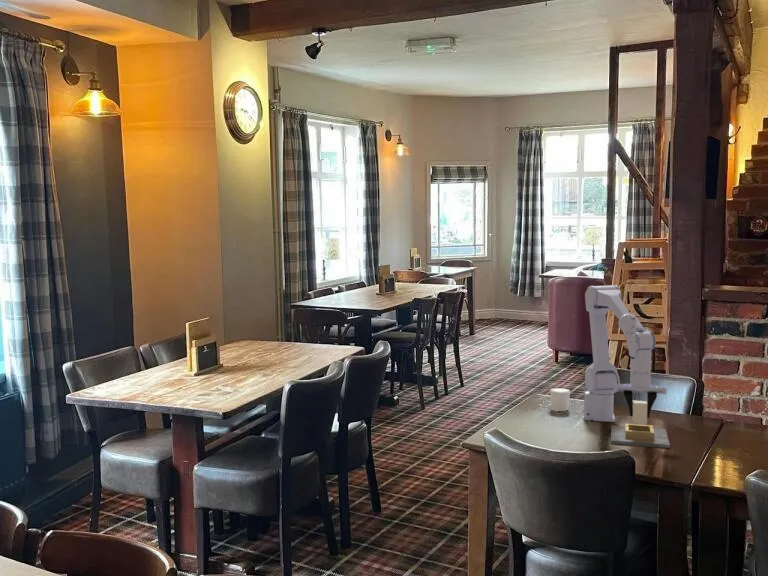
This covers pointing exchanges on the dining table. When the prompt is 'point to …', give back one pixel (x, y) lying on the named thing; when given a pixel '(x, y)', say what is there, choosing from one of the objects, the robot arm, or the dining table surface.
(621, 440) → the socket plate
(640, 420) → the cream block
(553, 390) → the white cylinder
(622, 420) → the dining table surface
